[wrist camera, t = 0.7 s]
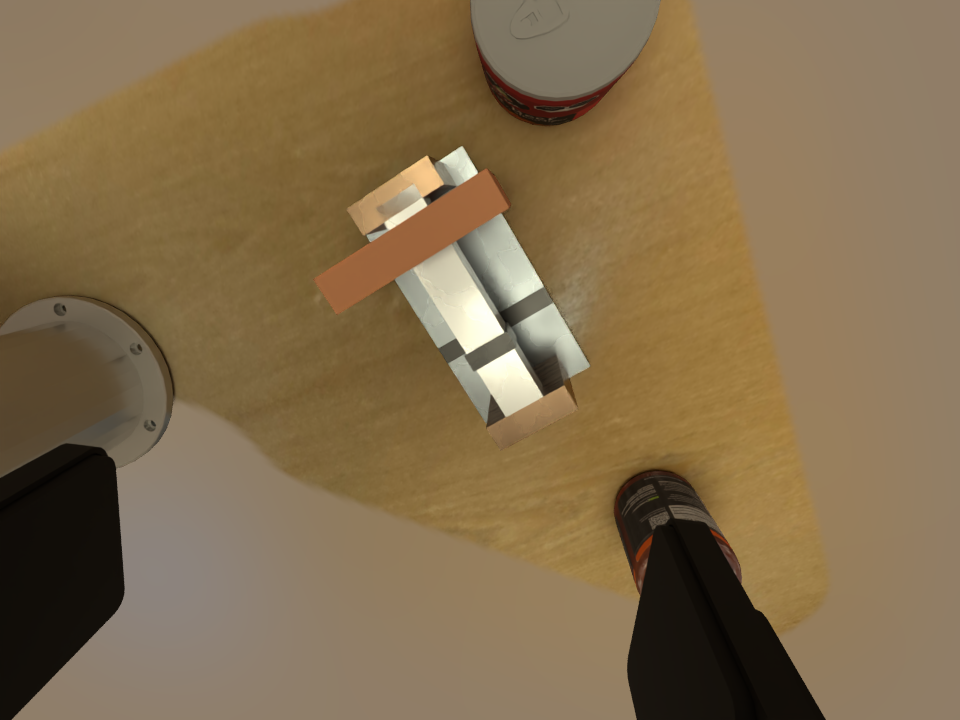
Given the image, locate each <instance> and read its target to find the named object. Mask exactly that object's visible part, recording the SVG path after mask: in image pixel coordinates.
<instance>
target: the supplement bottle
mask: <svg viewBox="0 0 960 720" xmlns="http://www.w3.org/2000/svg"><path fill="white" fill-rule="evenodd" d="M614 515H615V520H616V524H617V528H618V531H619V534H620V537H621V540H622V543H623V546H624V550H625V553H626V556H627V559H628V562H629V565H630V568H631V572H632V575H633V578H634V581H635V583H636V587H637V590H638V592H639V594H640V596H641V591H642V586H643V581H644V576H645V571H646V567H647V562H648V557H649V552H650V547H651V542H652V537H653V533H654V529H655V527H656V526H657V525H663V526H665V525H666V523H667V521H668V519H669V518H677V519H685V520H693V521H701V522H705V523H706V524H707V525H708V527H709V529H710V530H711V532H712V534H713V536H714V537H715V539H716V541H717V543H718V545H719V546H720V548H721V550H722V552H723V553H724V555H725V557H726V559H727V560H728V562H729V564H730V566H731V568H732V569H733V571H734V573H735V575H736V576H737V578H738V580H739V582H740V583H741V582H742V575H741V568H740V564H739V562H738V559H737V557H736V555H735V553H734V552H733V550H732V548H731V547H730V545H729V543H728V542H727V540H726V539H725V537H724V535H723V534H722V532H721V531H720V529H719V527H718V526H717V524H716V523H715V521H714V520H713V518H712V516H711V515H710V513H709V512H708V510H707V509H706V507H705V505H704V504H703V502H702V500H701V499H700V497H699V496H698V494H697V493H696V492H695V490H694V489H693V487H692V486H691V485H690V484H689V483H688V482H687V481H686V480H685V479H683V478H682V477H680V476H678V475H676V474H673V473H670V472H665V471H652V472H647V473H643V474H640V475H638V476H636V477H634V478H633V479H631V480H630V481H629V482H628V483H626V484H625V485H624V486H623V488H622V489H621V491H620V492H619V494H618V496H617V499H616V502H615V508H614Z"/></svg>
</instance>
